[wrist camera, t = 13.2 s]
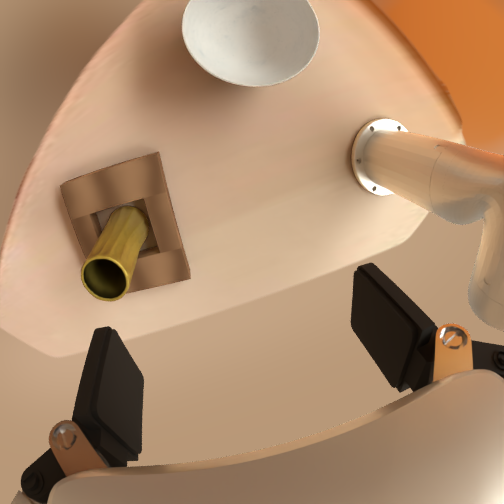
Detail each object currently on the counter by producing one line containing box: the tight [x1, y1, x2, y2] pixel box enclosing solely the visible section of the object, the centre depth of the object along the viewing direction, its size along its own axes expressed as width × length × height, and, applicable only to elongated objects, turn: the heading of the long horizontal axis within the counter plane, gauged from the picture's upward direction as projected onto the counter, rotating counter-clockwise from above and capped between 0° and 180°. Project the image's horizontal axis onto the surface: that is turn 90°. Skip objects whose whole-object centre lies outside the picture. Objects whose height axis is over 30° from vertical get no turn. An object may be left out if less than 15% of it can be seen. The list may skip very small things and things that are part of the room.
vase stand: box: [60, 152, 190, 294], centre depth 37 cm, size 14×18×2 cm
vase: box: [81, 206, 149, 301], centre depth 32 cm, size 6×6×14 cm
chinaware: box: [182, 0, 320, 87], centre depth 26 cm, size 15×15×8 cm
